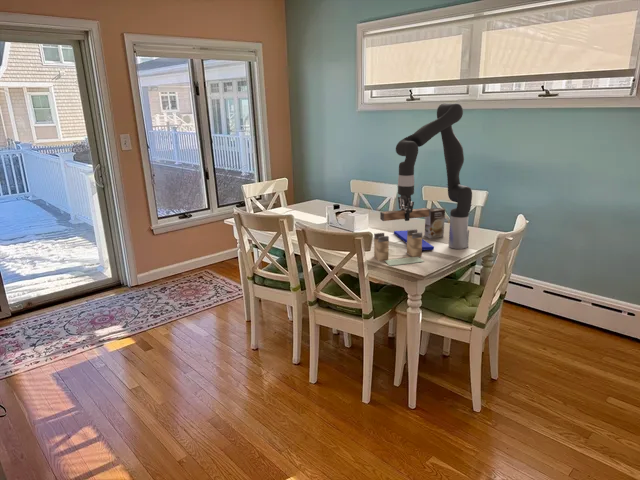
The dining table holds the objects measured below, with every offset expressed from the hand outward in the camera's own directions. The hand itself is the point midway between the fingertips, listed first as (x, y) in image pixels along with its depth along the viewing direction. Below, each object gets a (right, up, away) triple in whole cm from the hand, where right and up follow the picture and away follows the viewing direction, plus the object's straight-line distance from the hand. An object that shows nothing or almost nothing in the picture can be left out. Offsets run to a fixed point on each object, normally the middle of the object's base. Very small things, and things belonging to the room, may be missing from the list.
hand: (405, 219), depth 214 cm
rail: (0, +1, 0) cm, 1 cm away
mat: (+1, -21, +6) cm, 22 cm away
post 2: (+8, -17, +16) cm, 25 cm away
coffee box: (+25, -8, +44) cm, 51 cm away
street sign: (+11, -11, +36) cm, 40 cm away
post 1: (-10, -19, +12) cm, 25 cm away
